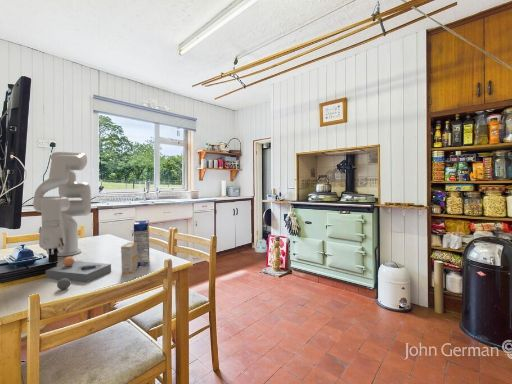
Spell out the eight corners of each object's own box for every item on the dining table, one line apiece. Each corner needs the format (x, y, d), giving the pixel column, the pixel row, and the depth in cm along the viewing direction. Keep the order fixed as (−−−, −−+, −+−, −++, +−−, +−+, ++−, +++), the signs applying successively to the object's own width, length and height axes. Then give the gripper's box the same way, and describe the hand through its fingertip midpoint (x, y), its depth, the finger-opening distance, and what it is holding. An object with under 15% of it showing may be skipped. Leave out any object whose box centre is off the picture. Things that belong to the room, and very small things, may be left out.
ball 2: (54, 290, 105) (54, 280, 105) (64, 286, 110) (64, 276, 109) (63, 291, 104) (63, 281, 104) (73, 287, 109) (73, 277, 108)
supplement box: (128, 267, 133) (127, 242, 132) (137, 267, 133) (137, 242, 133) (121, 273, 125) (120, 246, 124) (131, 273, 125) (131, 246, 124)
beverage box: (134, 267, 134) (133, 224, 132) (135, 261, 144) (135, 220, 143) (148, 265, 136) (148, 223, 135) (149, 259, 146) (148, 220, 145)
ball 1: (60, 267, 123) (60, 257, 122) (69, 264, 127) (68, 255, 127) (68, 268, 122) (68, 258, 122) (76, 265, 126) (76, 255, 126)
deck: (45, 277, 119) (45, 270, 119) (73, 267, 132) (73, 260, 132) (86, 282, 114) (86, 274, 114) (111, 271, 128) (110, 264, 128)
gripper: (31, 224, 123) (32, 263, 124) (57, 225, 120) (58, 265, 121) (47, 222, 131) (48, 258, 131) (72, 223, 127) (73, 260, 128)
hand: (53, 261), depth 126 cm, fingers closed
